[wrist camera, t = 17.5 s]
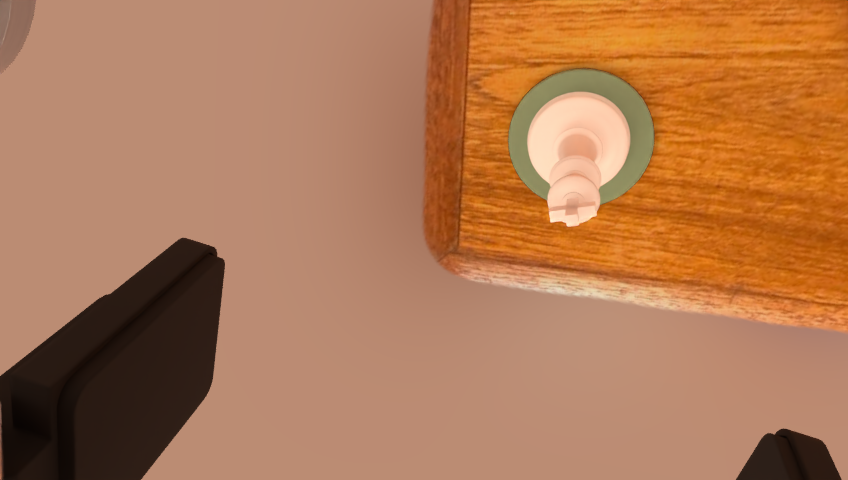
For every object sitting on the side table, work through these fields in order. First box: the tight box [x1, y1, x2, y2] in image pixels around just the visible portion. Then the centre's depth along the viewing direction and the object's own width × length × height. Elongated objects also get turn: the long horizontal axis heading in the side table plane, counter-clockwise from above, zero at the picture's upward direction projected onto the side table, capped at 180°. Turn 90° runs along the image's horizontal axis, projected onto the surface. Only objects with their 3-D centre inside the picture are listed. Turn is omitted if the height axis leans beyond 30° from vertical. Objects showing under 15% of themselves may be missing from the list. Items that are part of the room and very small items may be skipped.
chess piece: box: [527, 92, 630, 227], centre depth 29 cm, size 5×5×10 cm
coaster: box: [508, 68, 654, 205], centre depth 34 cm, size 7×7×1 cm
